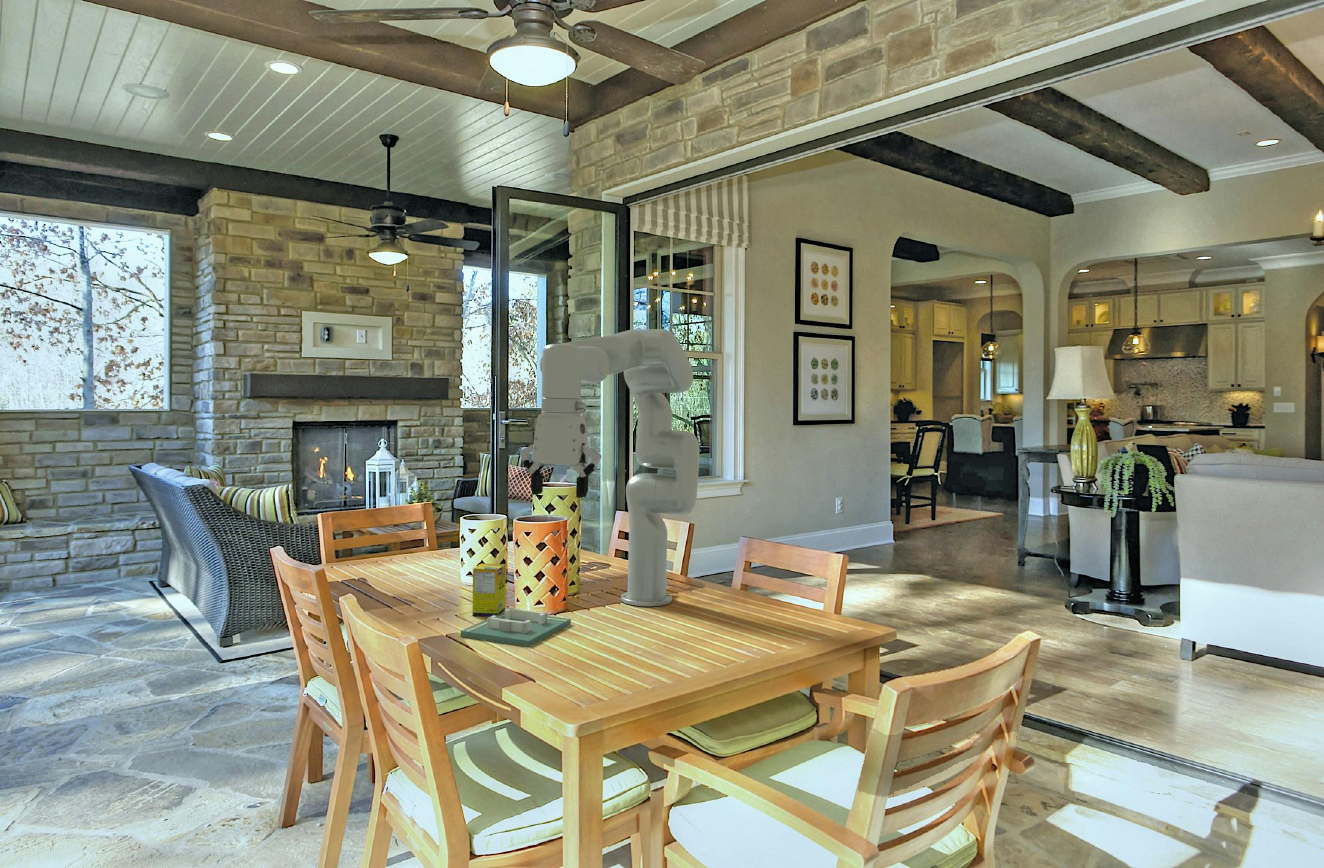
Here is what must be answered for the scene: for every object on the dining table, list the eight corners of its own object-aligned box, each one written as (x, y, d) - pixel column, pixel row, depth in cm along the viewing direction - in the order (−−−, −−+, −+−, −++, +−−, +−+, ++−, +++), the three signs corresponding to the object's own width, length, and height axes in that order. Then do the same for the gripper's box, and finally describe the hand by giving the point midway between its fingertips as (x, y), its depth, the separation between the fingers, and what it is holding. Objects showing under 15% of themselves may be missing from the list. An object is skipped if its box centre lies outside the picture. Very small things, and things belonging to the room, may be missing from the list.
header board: (507, 615, 181) (508, 601, 181) (570, 624, 176) (571, 609, 176) (460, 636, 165) (460, 621, 164) (528, 646, 159) (528, 631, 159)
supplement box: (505, 610, 186) (506, 563, 185) (497, 617, 180) (498, 569, 179) (480, 609, 186) (481, 562, 186) (471, 616, 180) (472, 567, 180)
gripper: (609, 409, 156) (607, 496, 157) (531, 407, 162) (529, 491, 163) (593, 409, 149) (590, 500, 150) (512, 406, 155) (510, 494, 156)
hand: (559, 495), depth 156 cm, fingers open, 9 cm apart
